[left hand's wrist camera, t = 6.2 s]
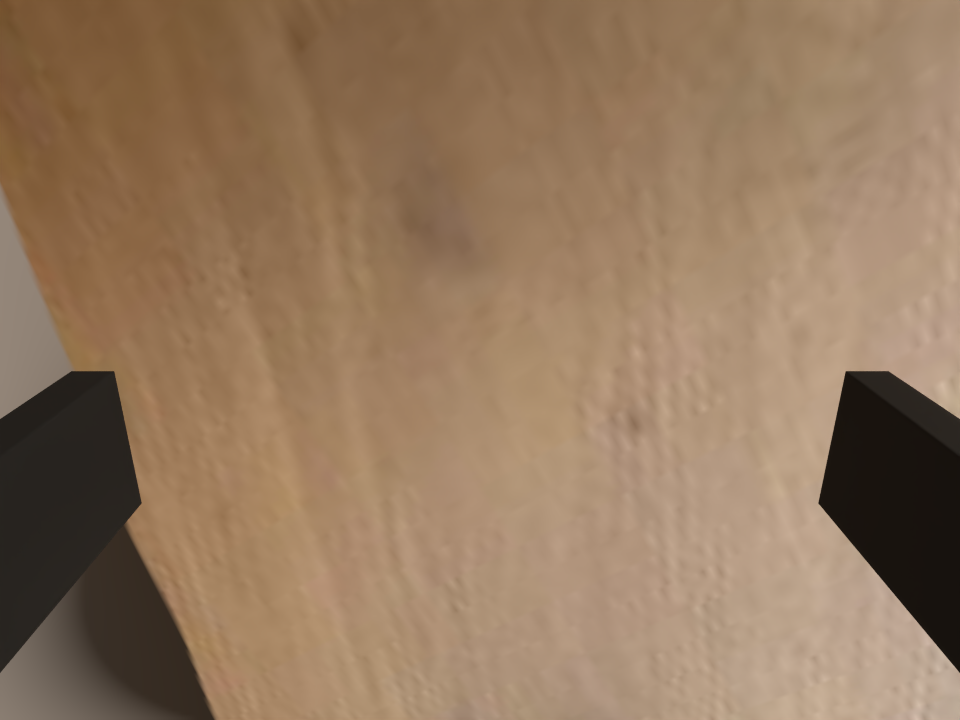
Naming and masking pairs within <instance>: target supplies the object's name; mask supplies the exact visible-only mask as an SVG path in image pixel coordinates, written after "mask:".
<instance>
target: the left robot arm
mask: <svg viewBox="0 0 960 720" xmlns="http://www.w3.org/2000/svg"><path fill="white" fill-rule="evenodd" d="M140 505H141V498H140V493H139V488H138V484H137V479H136V474H135V469H134V464H133V460H132V455H131V450H130V445H129V440H128V436H127V431H126V426H125V421H124V416H123V411H122V407H121V402H120V397H119V392H118V387H117V383H116V378H115V373H114V371H71V372H70V373H68V374H67V375H65V376H64V377H62V378H61V379H59V380H58V381H56V382H55V383H53V384H52V385H50V386H49V387H47V388H46V389H44V390H43V391H42V392H40V393H38V394H37V395H36V396H34V397H33V398H31V399H30V400H28V401H27V402H25V403H24V404H22V405H21V406H19V407H18V408H16V409H15V410H13V411H12V412H10V413H9V414H7V415H6V416H4V417H3V418H1V419H0V672H1V671H2V670H3V669H4V668H5V666H6V665H7V664H8V663H9V662H10V660H11V659H12V658H13V657H14V656H15V654H16V653H17V652H18V651H19V650H20V648H21V647H22V646H23V645H24V644H25V642H26V641H27V640H28V639H29V638H30V636H31V635H32V634H33V633H34V632H35V630H36V629H37V628H38V627H39V626H40V624H41V623H42V622H43V621H44V620H45V618H46V617H47V616H48V615H49V614H50V612H51V611H52V610H53V609H54V608H55V606H56V605H57V604H58V603H59V602H60V600H61V599H62V598H63V597H64V596H65V594H66V593H67V592H68V591H69V590H70V588H71V587H72V586H73V585H74V584H75V582H76V581H77V580H78V579H79V578H80V576H81V575H82V574H83V573H84V572H85V570H86V569H87V568H88V567H89V566H90V564H91V563H92V562H93V561H94V560H95V558H96V557H97V556H98V555H99V554H100V552H101V551H102V550H103V549H104V548H105V546H106V545H107V544H108V543H109V542H110V540H111V539H112V538H113V537H114V536H115V534H116V533H117V532H118V531H119V530H120V528H121V527H122V526H123V525H124V524H125V522H126V521H127V520H128V519H129V518H130V516H131V515H132V514H133V513H134V512H135V511H136V509H137V508H138V507H139V506H140ZM819 505H820V506H821V507H822V508H823V509H824V511H825V512H826V513H827V514H828V515H829V517H830V518H831V519H832V520H833V521H834V522H835V524H836V525H837V526H838V527H839V528H840V530H841V531H842V532H843V533H844V534H845V536H846V537H847V538H848V539H849V540H850V542H851V543H852V544H853V545H854V546H855V548H856V549H857V550H858V551H859V552H860V554H861V555H862V556H863V557H864V558H865V560H866V561H867V562H868V563H869V564H870V566H871V567H872V568H873V569H874V570H875V572H876V573H877V574H878V575H879V576H880V578H881V579H882V580H883V581H884V582H885V584H886V585H887V586H888V587H889V588H890V590H891V591H892V592H893V593H894V594H895V596H896V597H897V598H898V599H899V600H900V602H901V603H902V604H903V605H904V606H905V608H906V609H907V610H908V611H909V612H910V614H911V615H912V616H913V617H914V618H915V620H916V621H917V622H918V623H919V624H920V626H921V627H922V628H923V629H924V630H925V632H926V633H927V634H928V635H929V636H930V638H931V639H932V640H933V641H934V642H935V644H936V645H937V646H938V647H939V648H940V650H941V651H942V652H943V653H944V654H945V656H946V657H947V658H948V659H949V660H950V662H951V663H952V664H953V665H954V666H955V668H956V669H957V670H958V671H959V672H960V419H959V418H957V417H956V416H954V415H953V414H951V413H950V412H948V411H947V410H945V409H944V408H942V407H941V406H939V405H938V404H936V403H935V402H933V401H932V400H930V399H929V398H927V397H926V396H924V395H923V394H922V393H920V392H919V391H917V390H916V389H914V388H913V387H911V386H910V385H908V384H907V383H905V382H904V381H902V380H901V379H899V378H898V377H896V376H895V375H893V374H892V373H890V372H889V371H846V373H845V378H844V383H843V387H842V392H841V397H840V402H839V407H838V411H837V416H836V421H835V426H834V431H833V436H832V440H831V445H830V450H829V455H828V460H827V464H826V469H825V474H824V479H823V484H822V488H821V493H820V498H819Z"/></svg>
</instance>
